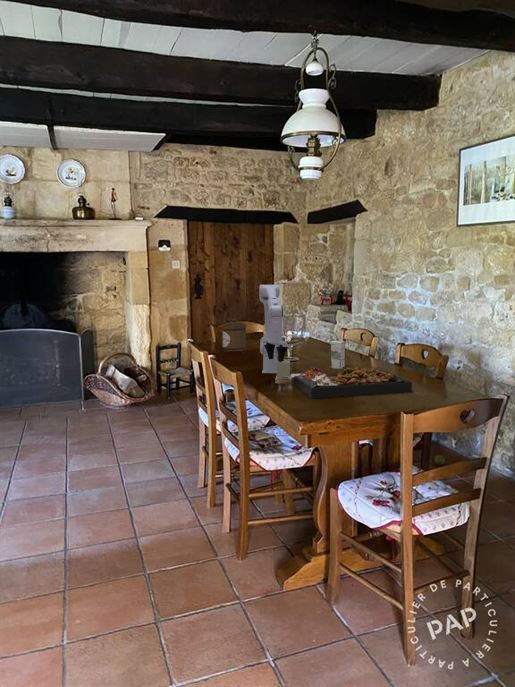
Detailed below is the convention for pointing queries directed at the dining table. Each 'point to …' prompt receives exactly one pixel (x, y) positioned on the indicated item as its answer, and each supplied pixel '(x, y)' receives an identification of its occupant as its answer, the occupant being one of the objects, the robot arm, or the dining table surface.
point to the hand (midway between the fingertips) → (275, 360)
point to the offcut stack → (283, 379)
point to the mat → (295, 375)
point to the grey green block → (283, 368)
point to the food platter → (350, 383)
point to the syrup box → (337, 354)
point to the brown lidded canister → (234, 336)
